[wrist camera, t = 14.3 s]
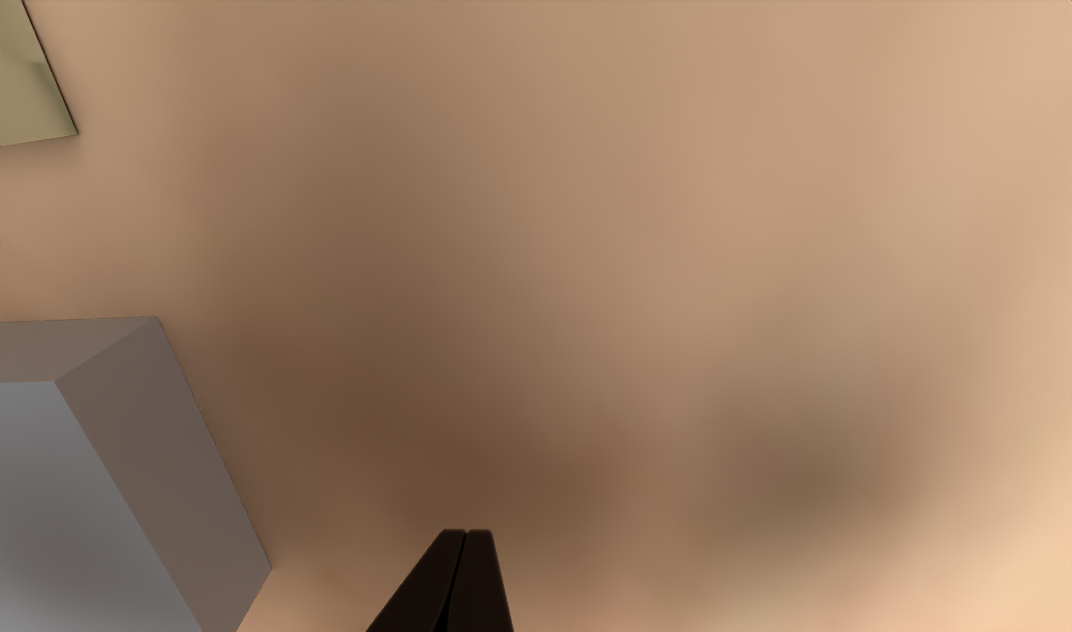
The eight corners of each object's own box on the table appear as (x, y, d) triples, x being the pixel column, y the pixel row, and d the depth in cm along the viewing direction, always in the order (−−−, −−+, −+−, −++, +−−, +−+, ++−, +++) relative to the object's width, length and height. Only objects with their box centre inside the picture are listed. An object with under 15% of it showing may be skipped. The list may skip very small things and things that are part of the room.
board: (171, 306, 10) (53, 381, 7) (279, 555, 13) (220, 659, 11) (-157, 319, 10) (-360, 393, 8) (25, 555, 13) (-84, 655, 11)
